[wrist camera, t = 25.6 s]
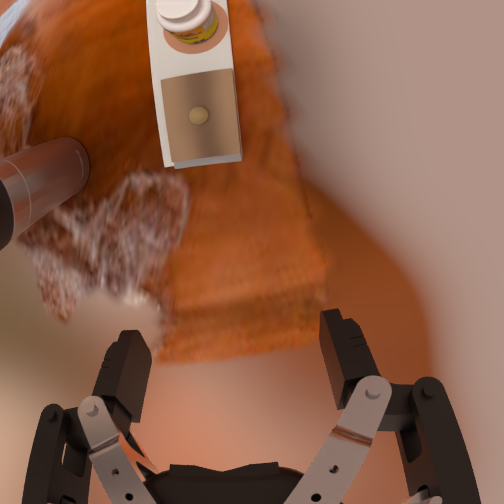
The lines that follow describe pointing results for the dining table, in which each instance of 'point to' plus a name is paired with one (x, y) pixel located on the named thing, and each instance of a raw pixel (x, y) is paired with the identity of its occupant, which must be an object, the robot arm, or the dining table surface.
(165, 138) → the board
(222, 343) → the dining table surface
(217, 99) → the cover
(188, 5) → the supplement bottle
